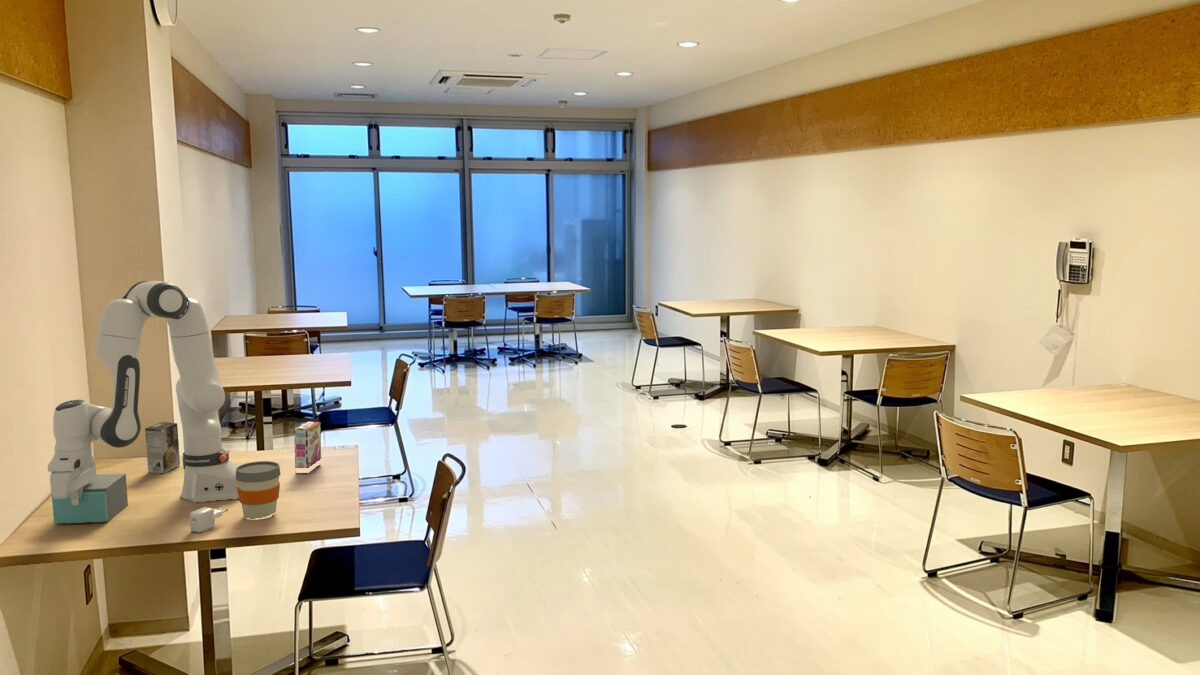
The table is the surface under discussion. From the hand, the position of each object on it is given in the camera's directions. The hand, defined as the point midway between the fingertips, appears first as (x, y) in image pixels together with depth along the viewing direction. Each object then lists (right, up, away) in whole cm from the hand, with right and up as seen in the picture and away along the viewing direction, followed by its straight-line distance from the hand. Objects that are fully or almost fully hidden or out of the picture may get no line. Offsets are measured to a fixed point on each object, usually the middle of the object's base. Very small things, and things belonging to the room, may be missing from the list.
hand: (76, 503), depth 235 cm
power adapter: (+37, -7, +3) cm, 38 cm away
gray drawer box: (-2, -5, +11) cm, 12 cm away
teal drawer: (-2, -5, +9) cm, 10 cm away
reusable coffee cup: (+48, -6, +13) cm, 50 cm away
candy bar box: (+47, 0, +57) cm, 74 cm away
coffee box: (-4, +1, +54) cm, 55 cm away
